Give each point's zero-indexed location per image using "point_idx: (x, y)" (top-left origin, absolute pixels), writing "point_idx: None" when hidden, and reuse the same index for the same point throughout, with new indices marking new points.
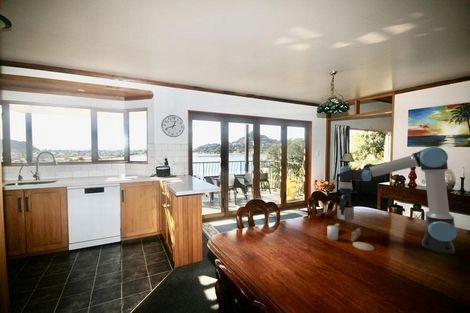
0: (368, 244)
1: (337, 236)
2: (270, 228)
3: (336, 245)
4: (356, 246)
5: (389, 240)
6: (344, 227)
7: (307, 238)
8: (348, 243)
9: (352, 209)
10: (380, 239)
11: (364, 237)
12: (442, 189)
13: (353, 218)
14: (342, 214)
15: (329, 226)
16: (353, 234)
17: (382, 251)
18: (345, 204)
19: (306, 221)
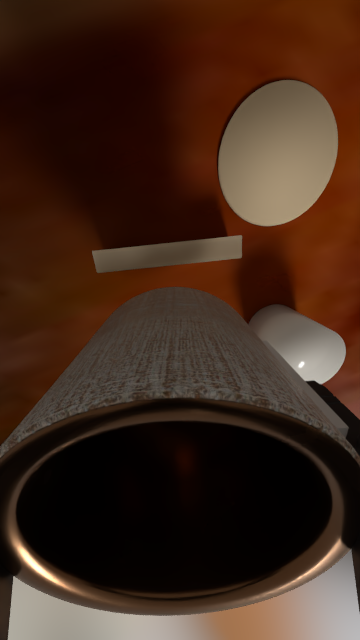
0: (229, 143)
1: (286, 310)
2: None
3: (353, 275)
4: (314, 188)
5: (9, 52)
6: (64, 359)
7: (348, 391)
8: (285, 245)
9: (212, 355)
10: (55, 119)
11: (117, 218)
12: None
13: (169, 289)
14: (320, 391)
15: (307, 378)
16: (239, 241)
17: (274, 17)
18: (31, 583)
19: None
